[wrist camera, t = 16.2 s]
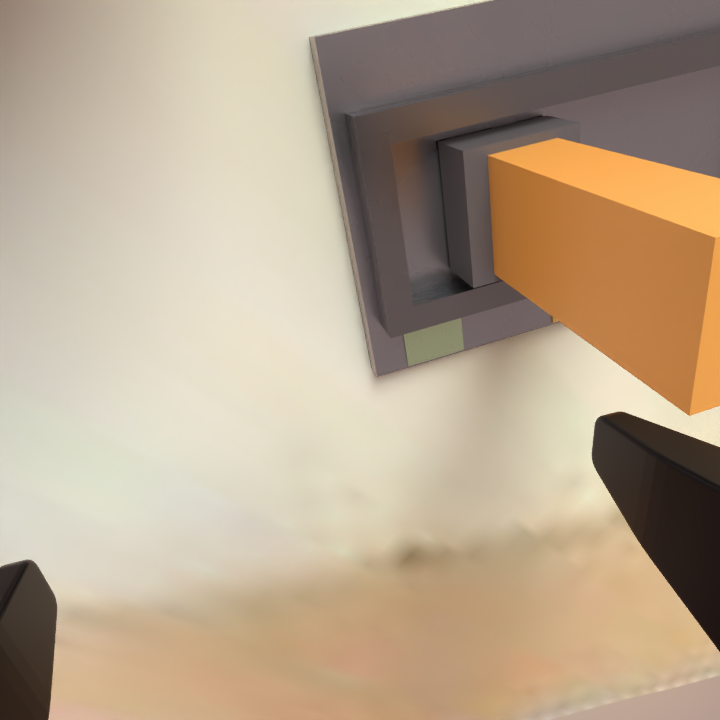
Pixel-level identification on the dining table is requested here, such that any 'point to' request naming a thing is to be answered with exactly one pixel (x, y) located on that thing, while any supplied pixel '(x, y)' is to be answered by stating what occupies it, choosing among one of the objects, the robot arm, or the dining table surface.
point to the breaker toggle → (594, 246)
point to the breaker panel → (486, 111)
